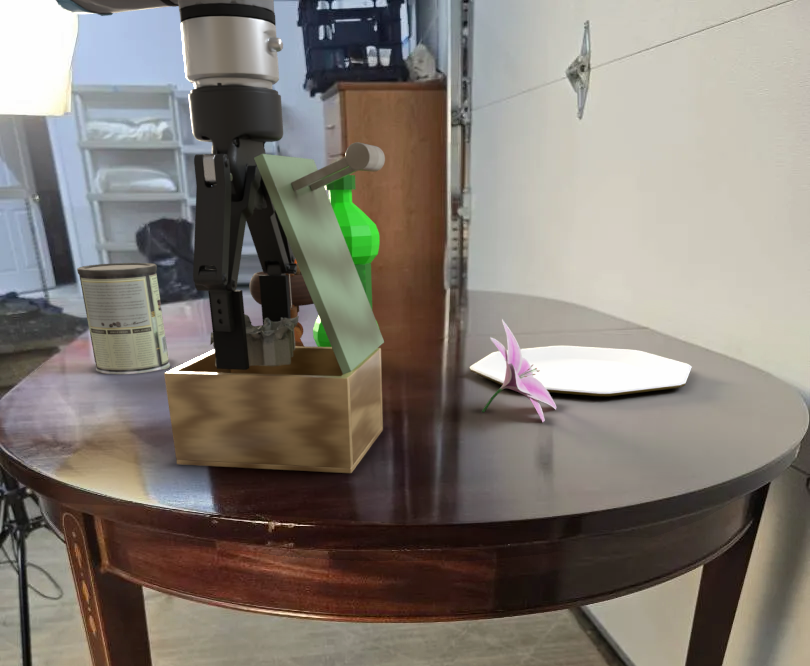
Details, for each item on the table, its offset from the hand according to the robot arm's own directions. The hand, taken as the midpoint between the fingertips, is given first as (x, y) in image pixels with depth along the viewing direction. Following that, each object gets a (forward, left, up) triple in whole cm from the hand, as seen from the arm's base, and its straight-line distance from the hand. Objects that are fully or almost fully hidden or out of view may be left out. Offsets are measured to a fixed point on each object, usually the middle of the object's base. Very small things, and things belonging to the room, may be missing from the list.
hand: (257, 355), depth 73 cm
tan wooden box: (+2, 0, -9) cm, 9 cm away
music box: (-6, +27, -9) cm, 29 cm away
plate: (+31, +36, -9) cm, 49 cm away
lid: (+7, 0, +8) cm, 11 cm away
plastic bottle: (-3, +44, -9) cm, 45 cm away
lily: (+24, +15, -9) cm, 30 cm away
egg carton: (0, 0, 0) cm, 0 cm away
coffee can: (-32, +33, -9) cm, 47 cm away
